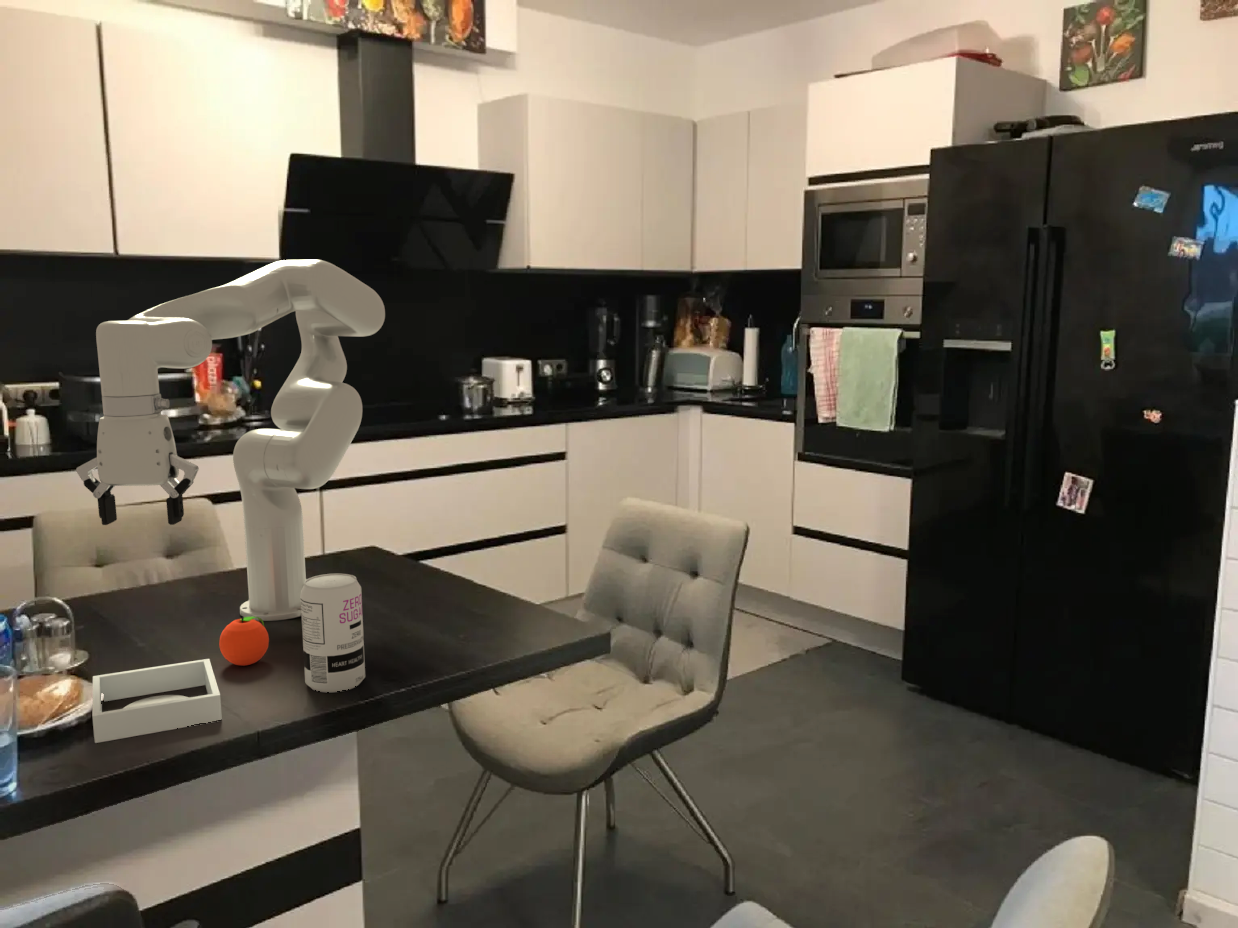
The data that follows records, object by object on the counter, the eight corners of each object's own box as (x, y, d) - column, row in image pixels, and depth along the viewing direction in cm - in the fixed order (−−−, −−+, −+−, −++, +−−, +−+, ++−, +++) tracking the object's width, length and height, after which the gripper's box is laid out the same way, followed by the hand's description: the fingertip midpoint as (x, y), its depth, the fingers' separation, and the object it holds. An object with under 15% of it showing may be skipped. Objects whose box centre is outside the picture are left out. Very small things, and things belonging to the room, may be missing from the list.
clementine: (247, 651, 156) (244, 606, 155) (284, 656, 154) (282, 611, 153) (210, 669, 149) (206, 622, 148) (249, 675, 146) (246, 627, 145)
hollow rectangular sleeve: (210, 682, 144) (209, 658, 143) (221, 720, 131) (220, 694, 130) (95, 700, 137) (92, 676, 137) (94, 742, 124) (92, 716, 124)
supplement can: (312, 673, 147) (306, 573, 145) (369, 671, 148) (365, 571, 145) (299, 695, 139) (293, 589, 137) (360, 693, 140) (355, 588, 137)
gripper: (202, 403, 150) (211, 516, 153) (85, 404, 150) (96, 517, 153) (181, 410, 143) (190, 528, 146) (57, 410, 143) (70, 529, 146)
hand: (142, 522), depth 149 cm, fingers open, 9 cm apart
